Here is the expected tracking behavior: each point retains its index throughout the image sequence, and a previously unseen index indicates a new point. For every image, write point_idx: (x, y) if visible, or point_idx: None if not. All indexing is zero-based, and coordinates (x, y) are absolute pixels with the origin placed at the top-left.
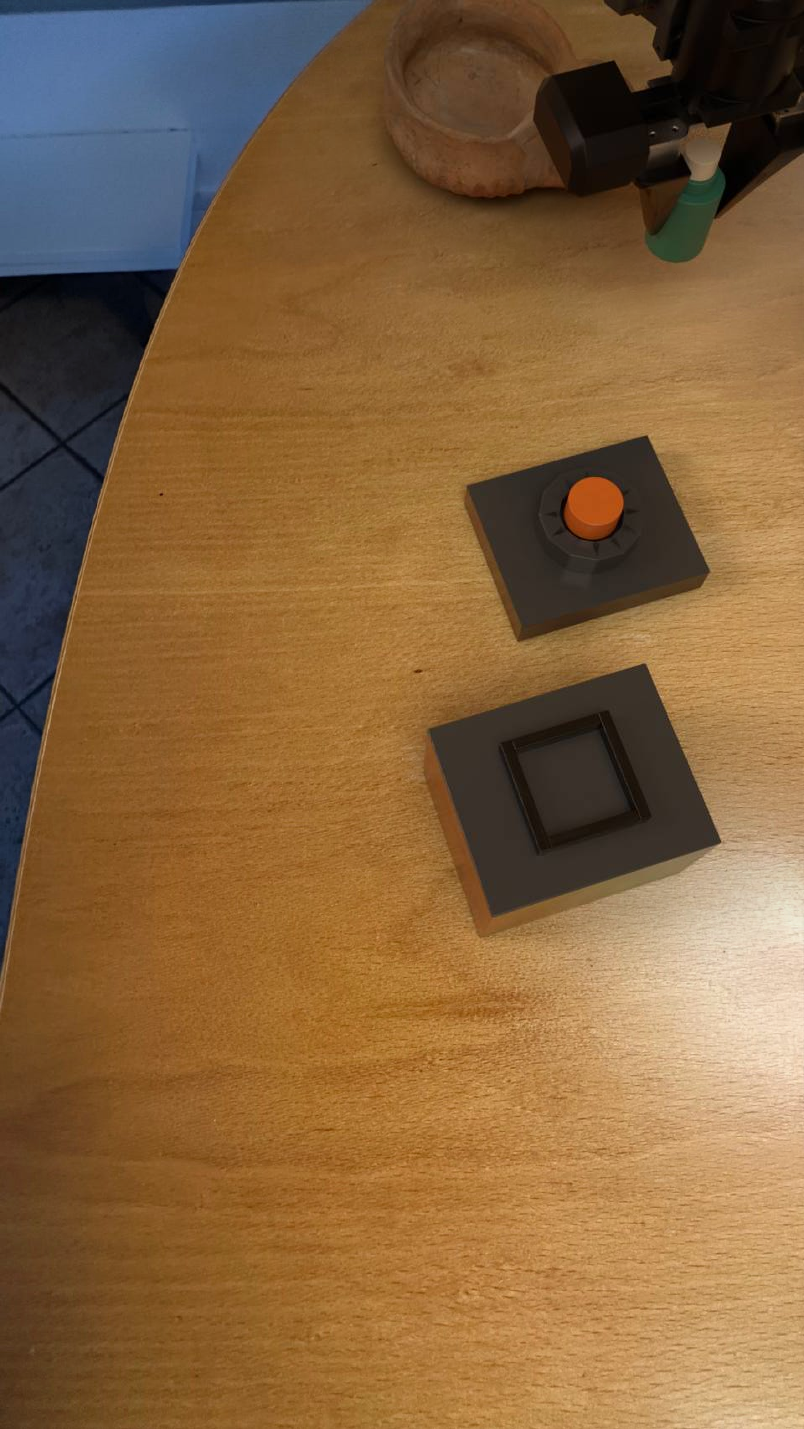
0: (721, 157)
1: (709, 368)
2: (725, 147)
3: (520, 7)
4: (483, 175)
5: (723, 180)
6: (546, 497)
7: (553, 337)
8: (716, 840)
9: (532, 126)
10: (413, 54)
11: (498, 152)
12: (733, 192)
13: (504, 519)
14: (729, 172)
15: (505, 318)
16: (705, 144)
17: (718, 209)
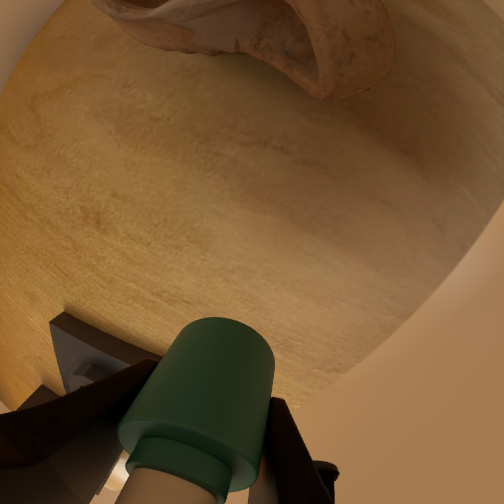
0: (272, 479)
1: (283, 342)
2: (275, 499)
3: None
4: (144, 39)
5: (240, 489)
6: (72, 378)
7: (166, 229)
8: (96, 494)
9: (186, 6)
10: None
11: (145, 26)
12: (250, 491)
13: (64, 353)
14: (260, 493)
15: (138, 183)
16: None
17: None
